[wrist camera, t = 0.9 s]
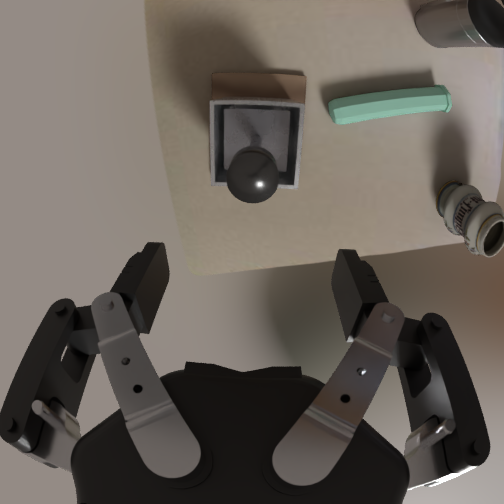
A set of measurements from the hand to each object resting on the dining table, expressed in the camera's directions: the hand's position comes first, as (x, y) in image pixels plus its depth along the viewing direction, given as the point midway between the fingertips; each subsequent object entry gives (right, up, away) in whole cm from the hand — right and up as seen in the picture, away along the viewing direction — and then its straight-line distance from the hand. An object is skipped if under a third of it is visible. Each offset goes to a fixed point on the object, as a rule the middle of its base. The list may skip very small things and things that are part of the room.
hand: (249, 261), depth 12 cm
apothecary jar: (+47, +13, +38) cm, 62 cm away
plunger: (+1, +15, +22) cm, 27 cm away
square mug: (+1, +21, +33) cm, 39 cm away
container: (+25, +29, +29) cm, 48 cm away
